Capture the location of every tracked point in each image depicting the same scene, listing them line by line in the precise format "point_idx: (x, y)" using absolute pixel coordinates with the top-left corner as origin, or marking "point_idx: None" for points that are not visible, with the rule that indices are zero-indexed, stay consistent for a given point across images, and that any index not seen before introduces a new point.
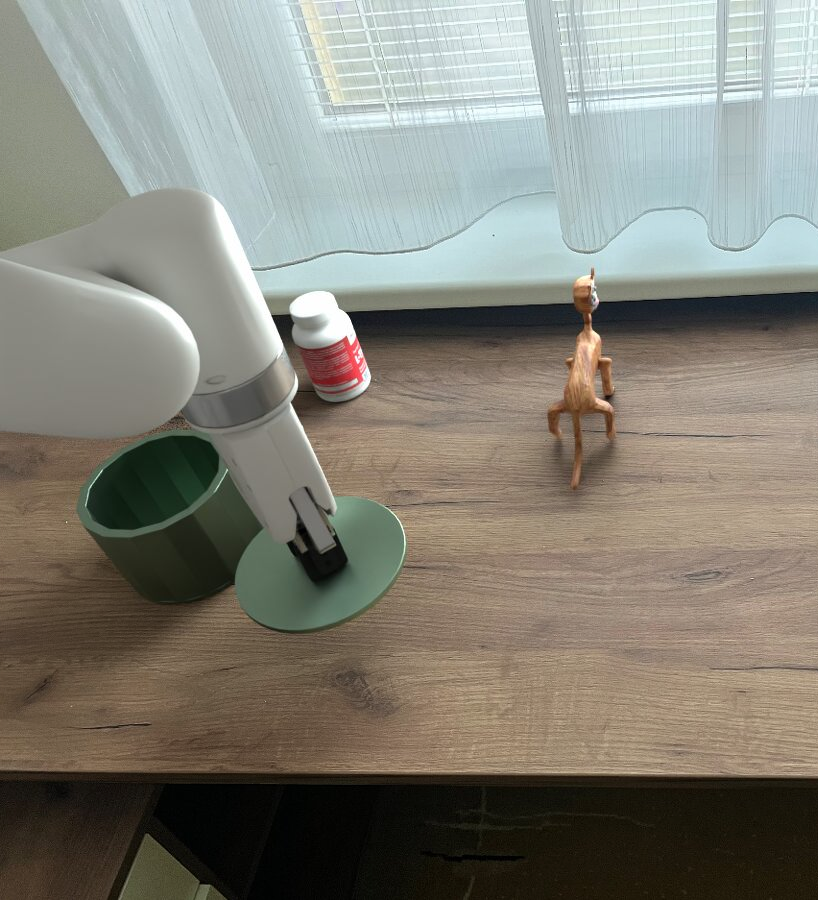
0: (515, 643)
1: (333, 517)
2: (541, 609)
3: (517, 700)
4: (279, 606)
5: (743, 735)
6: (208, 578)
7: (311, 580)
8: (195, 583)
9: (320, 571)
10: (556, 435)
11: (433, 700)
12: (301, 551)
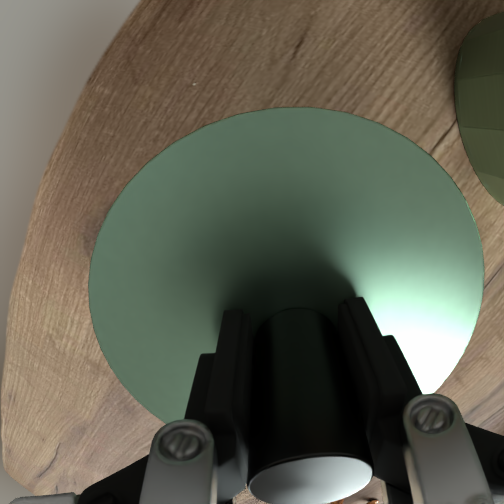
0: (120, 386)
1: None
2: (149, 418)
3: (60, 354)
4: (198, 207)
5: (18, 421)
6: (475, 91)
7: (223, 313)
8: (476, 70)
9: (199, 360)
10: (331, 502)
11: (82, 293)
12: (153, 439)
